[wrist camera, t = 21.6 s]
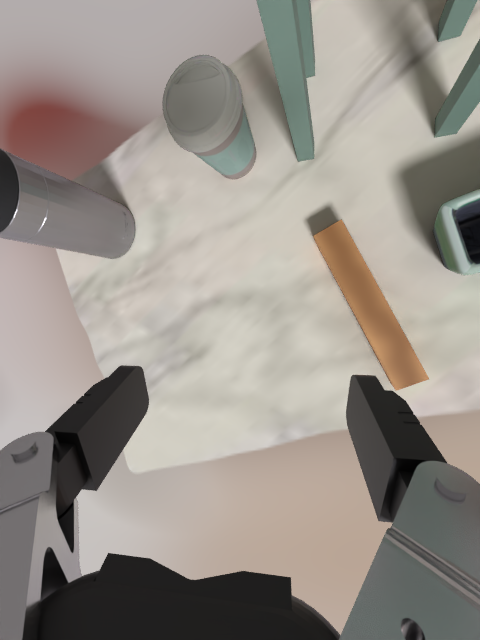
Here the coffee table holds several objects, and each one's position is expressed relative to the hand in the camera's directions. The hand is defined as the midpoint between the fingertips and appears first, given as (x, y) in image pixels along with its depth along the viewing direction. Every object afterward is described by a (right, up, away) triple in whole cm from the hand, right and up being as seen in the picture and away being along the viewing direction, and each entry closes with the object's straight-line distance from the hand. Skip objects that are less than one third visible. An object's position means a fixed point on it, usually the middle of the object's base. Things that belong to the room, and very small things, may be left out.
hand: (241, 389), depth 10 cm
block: (+16, +5, +24) cm, 29 cm away
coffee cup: (-1, +25, +28) cm, 37 cm away
